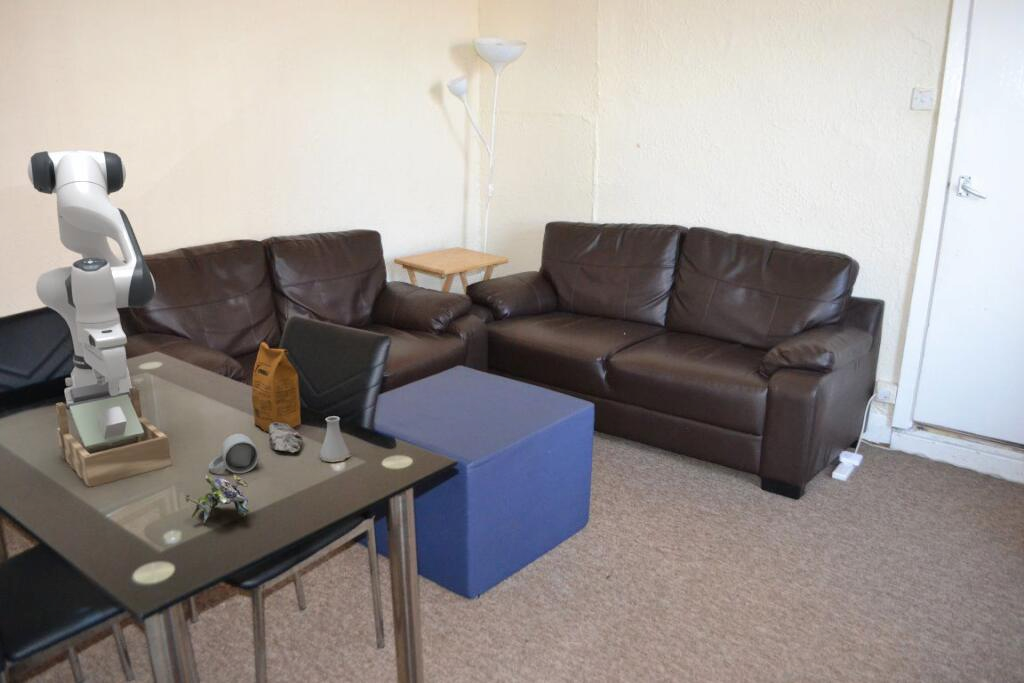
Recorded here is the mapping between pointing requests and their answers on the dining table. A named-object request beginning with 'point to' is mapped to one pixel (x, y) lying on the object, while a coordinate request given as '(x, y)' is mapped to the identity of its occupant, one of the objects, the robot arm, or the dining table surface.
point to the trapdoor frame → (115, 451)
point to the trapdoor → (88, 409)
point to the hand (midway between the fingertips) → (107, 389)
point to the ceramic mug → (236, 455)
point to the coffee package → (275, 389)
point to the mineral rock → (284, 437)
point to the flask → (333, 441)
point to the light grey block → (112, 422)
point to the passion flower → (222, 496)
